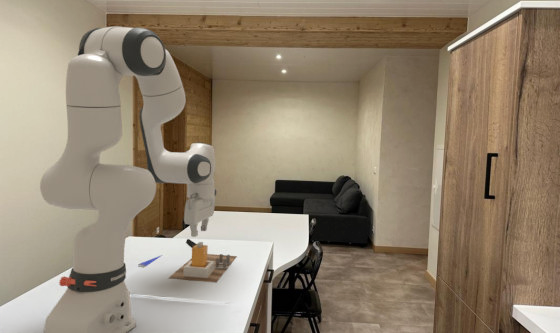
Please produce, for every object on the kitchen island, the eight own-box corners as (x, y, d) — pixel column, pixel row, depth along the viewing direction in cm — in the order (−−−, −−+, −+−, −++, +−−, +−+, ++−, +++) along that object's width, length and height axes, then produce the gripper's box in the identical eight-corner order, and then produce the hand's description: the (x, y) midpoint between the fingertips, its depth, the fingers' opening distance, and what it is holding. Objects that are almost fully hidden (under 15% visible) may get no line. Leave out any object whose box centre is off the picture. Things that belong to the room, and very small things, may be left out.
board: (216, 286, 116) (216, 271, 116) (167, 281, 118) (168, 267, 118) (236, 259, 144) (237, 247, 144) (197, 256, 146) (197, 244, 146)
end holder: (207, 278, 120) (207, 268, 120) (183, 276, 121) (183, 267, 120) (214, 269, 128) (214, 261, 127) (192, 268, 129) (192, 259, 128)
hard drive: (156, 267, 128) (178, 257, 140) (138, 263, 131) (161, 254, 143) (156, 271, 128) (178, 262, 140) (138, 267, 132) (161, 258, 143)
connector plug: (203, 275, 122) (203, 245, 121) (191, 274, 122) (192, 244, 122) (206, 271, 126) (207, 241, 125) (195, 270, 126) (196, 241, 126)
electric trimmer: (192, 245, 163) (192, 238, 163) (204, 254, 150) (204, 246, 150) (183, 246, 161) (184, 239, 161) (195, 255, 148) (195, 247, 148)
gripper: (199, 195, 112) (198, 240, 112) (218, 190, 132) (217, 228, 132) (179, 194, 113) (178, 239, 113) (201, 189, 133) (199, 227, 133)
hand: (199, 233), depth 123 cm, fingers open, 8 cm apart
